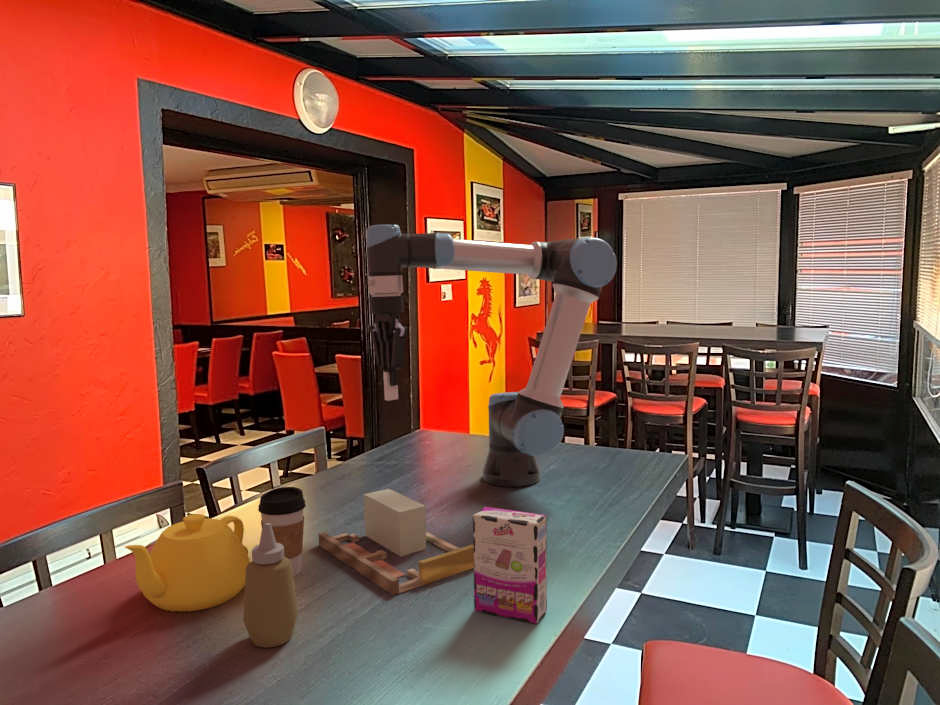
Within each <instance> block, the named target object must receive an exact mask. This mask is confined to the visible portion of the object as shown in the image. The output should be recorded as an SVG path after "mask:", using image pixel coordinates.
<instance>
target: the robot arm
mask: <svg viewBox="0 0 940 705" xmlns="http://www.w3.org/2000/svg"><path fill="white" fill-rule="evenodd" d="M365 249H366V257H367V258H366V259H367V260H366V261H367V274H368V281H367V285H368V290H369V291H368V293H369V295H372V296H370V297H369V311H370V313H371V314H374V315H375V317H374V324H373V325H369V332H370V335H371V338H372V343H373V344H372V345H373V349H374V356H375V361H376V366H377V368H380V369H381V371H382V372H383V374H382V375H383V393H384V401H387V402H389V401H394V400H399V386H398V384H399V382H398V381H399V377H398V371H399V370H401V369H403V368H404V362H405V361H404V360H405V359H404V358H405V349H406V348H405V347H406V337H407V333H408V331H409V330H408V326H403V325H402V324H401V322H402V320H401V318H400V314H401V313H403V312H404V310H405V308H404V307H405V305H404V304H405V303H404V297H403V295H402V294H403V293H404V285H403V284H404V283H403V268H405V269H406V268H424V269H440V270H442V269H443V270H457V271H458V270H459V271H467V272H468V271H471V272H485V273H497V274H499V273H501V274H512V275H513V274H515V275H525V276H526V275H527V277H529V279H532V280H540V281H541V280H542V281H546V282H552V288H553V290H554V291H555V296H554V299H553V303H552V306H551V309H550V310H549V311H550V312H549V314H548V315H549V316H548V318H547V321H546V323H545V324H546V325H545V328H544V331H543V334H542V337H541V340H540V344H539V346H538V348H537V349H538V350H537V353H536V354H535V359H534V363H533V365H532V368H531V371H530V375H529V378H528V380H527V381H528V382H527V384H526V386H525V388H522V389H521V390H519V391H511V392H510V391H509V392H498V393H493V394H491V395H490V396H489V399H488V406H487V409H488V453H487V455H486V458H485V462H484V466H483V468H482V480H483V481H484V482H486V483H487V484H489V485H493V486H498V487H510V488H512V487H513V488H514V487H517V488H518V487H526V486H530V485H534V484H536V483H538V482H540V480H541V470H540V466H539V463H538V460H537V457H544V456H547V455H548V454H550V453H553V451H555V450H556V449H557V447H558V446H560V444H561V442H562V439H563V437H564V431H565V428H564V424H563V422H562V418H561V417H562V415H563V414H562V413H563V411H564V407H565V406H564V404H563V402H562V400H561V396H562V393H563V390H564V387H565V385H566V384H565V383H566V380H567V378H568V376H569V375H568V374H569V371H570V368H571V364H572V362H573V358H574V357H575V353H576V349H577V347H578V343H579V340H580V336H581V333H582V330H583V328H584V325H585V321H586V318H587V314H588V312H589V309H590V306H591V304H592V303H594V302H596V301H598V300H599V298H600V294H601V292H602V289H603V286H606V285H608V284H609V283H610V282H611V281H612V280H613V279H614V276H615V274H616V272H617V267H618V266H617V265H618V261H617V256H616V253H615V251H614V250H613V248H612V246H611V244H609V243H608V242H607V241H605V240H604V239H601V238H598V237H591V236H583V237H577V238H567V239H561V240H554V241H552V240H551V241H533V242H531V243H530V244H522V243H509V242H498V241H497V242H496V241H485V240H484V241H483V240H472V239H471V240H470V239H459V238H453V237H452V235H451V234H450V233H446V232H429V233H428V232H427V233H425V232H423V233H402V231H401V228H400V226H399V224H374V225H370V226H368V227H367V229H366V246H365Z"/></svg>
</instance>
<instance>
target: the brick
mask: <svg viewBox="0 0 940 705" xmlns="http://www.w3.org/2000/svg"><path fill="white" fill-rule="evenodd" d="M426 507H427V506H426V504H425V505H424V504H423V503H420V502H419V501H416V500H414V499H412V498H409V497H408V496H405V495H403V494H401V493H399V492H397V491H396V490H395V491H394V490H392V489H390V488H386V489H382V490H376V491H373V492H368V493H364V494H363V508H364V515H363V516H364V536H365V537H366V538H368V539H370V540H372V541H373V542H375V543H377V544H378V545H381V546H382V547H383V548H385V549H387V550H389V551H391V552H393V553H394V554H395V555H398V557H403V556H406V555H411V554H413V553H417V552H421V551H423V550H427V540H426V532H427V522H426V521H427V517H426V516H427V515H426V514H427V512H426V511H427V509H426Z"/></svg>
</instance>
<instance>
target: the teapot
mask: <svg viewBox="0 0 940 705" xmlns="http://www.w3.org/2000/svg"><path fill="white" fill-rule="evenodd" d="M231 523H233V528H234V529H232V528H231V527H230V526H229V525H228V524H231ZM244 527H245V526H244V523H243V520H242V519H241V518H240V517H237V516H234V515H227V516H223V517H222V518H221V519H217V518H206V515H204V514H203V513H202V514H201V513H193V514H189V515H186V516H184V517H182V521H179V522H176V523H173V524H172V525H169V526H168V527H167V528H165V529H164V530H163V531H162V532H161V533H160V535H159V536H158V538H156V541H155V543H154V545H153V546H152V547H151V550H150V552H149V550H148V549H147V547H146V546H144V545H140V544H131V545H125V546H124V549H125V548H126V549H128V550H129V551H131V552H132V554H133V555H134V558H135V581H136V584H137V586H138V589H139V590H140V591H141V592H142V594H143V596H144V597H145V598H146V599H147V601H149V602H150V603H152V605H155V606H156V607H157V608H159V609H161V610H164V611H168V610H169V611H170V612H175V611H179V612H180V611H181V612H180V613H182V612H183V611H184V612H185V611H187V612H195V610H197V611H201V610H206V609H210V608H213V607H217V606H219V605H222V604H224V603H226V602H228V601H229V600H231V599H233V598H234V597H236V596H237V595H238V594H239V593H241V591H242V590H243V588H245V578H246V567H247V565H248V564H249V563H250V562H251V561H250V557H249V549H248V548H247V546H245V545H244V543H243V538H244V532H245V531H244V530H245V528H244ZM169 611H168V612H169ZM179 612H178V613H179ZM184 612H183V613H184Z"/></svg>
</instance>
